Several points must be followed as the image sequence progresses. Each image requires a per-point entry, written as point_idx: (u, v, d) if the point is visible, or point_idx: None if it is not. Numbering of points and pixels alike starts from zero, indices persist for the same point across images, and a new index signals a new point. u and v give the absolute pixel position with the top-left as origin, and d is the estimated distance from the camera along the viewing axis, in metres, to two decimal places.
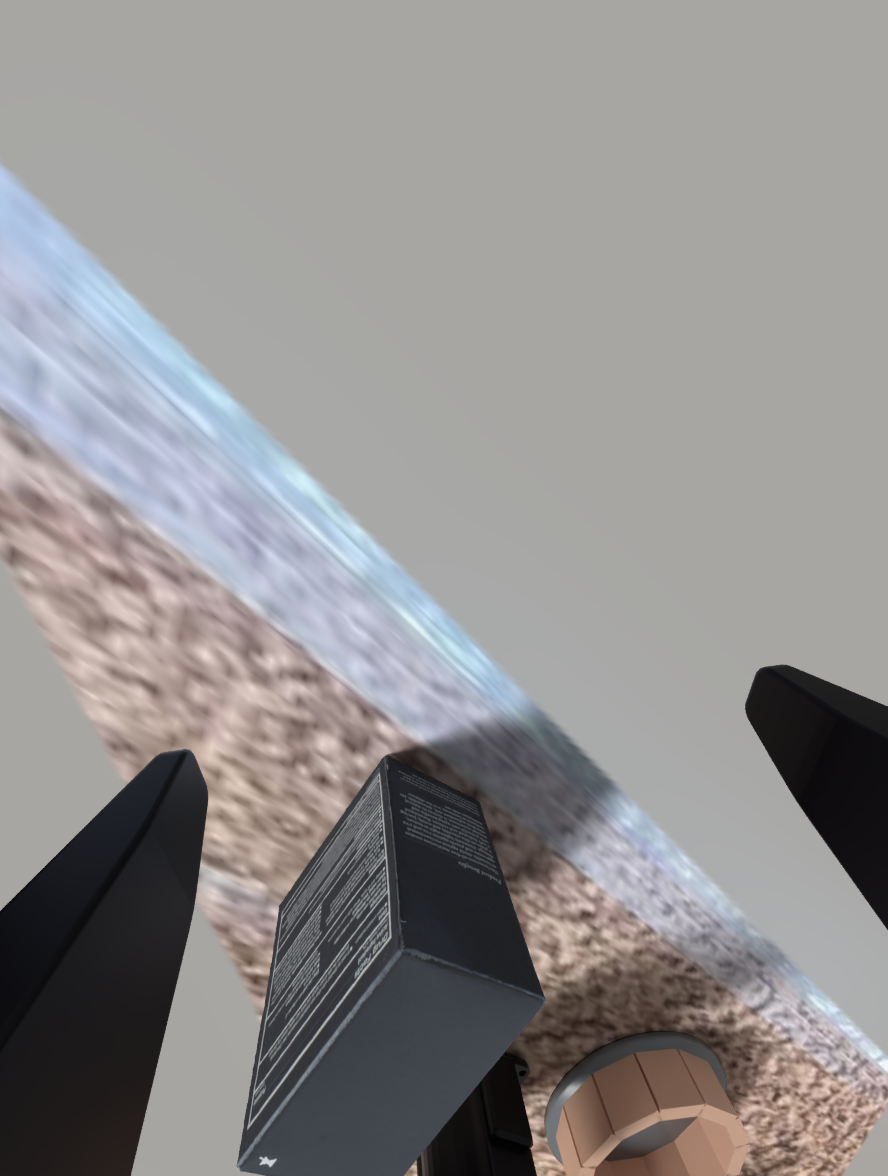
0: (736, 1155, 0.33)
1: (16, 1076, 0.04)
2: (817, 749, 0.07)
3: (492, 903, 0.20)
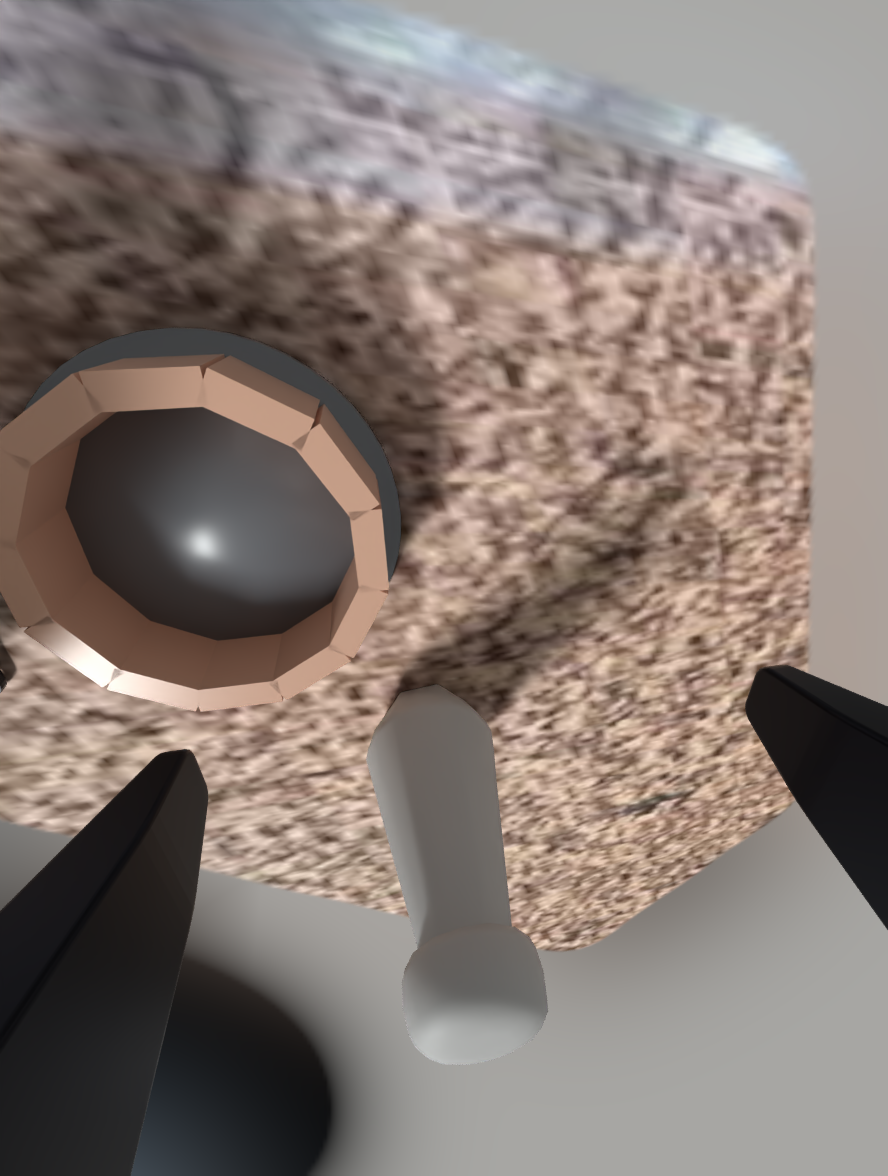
0: (317, 464, 0.15)
1: (16, 1075, 0.04)
2: (817, 749, 0.07)
3: None
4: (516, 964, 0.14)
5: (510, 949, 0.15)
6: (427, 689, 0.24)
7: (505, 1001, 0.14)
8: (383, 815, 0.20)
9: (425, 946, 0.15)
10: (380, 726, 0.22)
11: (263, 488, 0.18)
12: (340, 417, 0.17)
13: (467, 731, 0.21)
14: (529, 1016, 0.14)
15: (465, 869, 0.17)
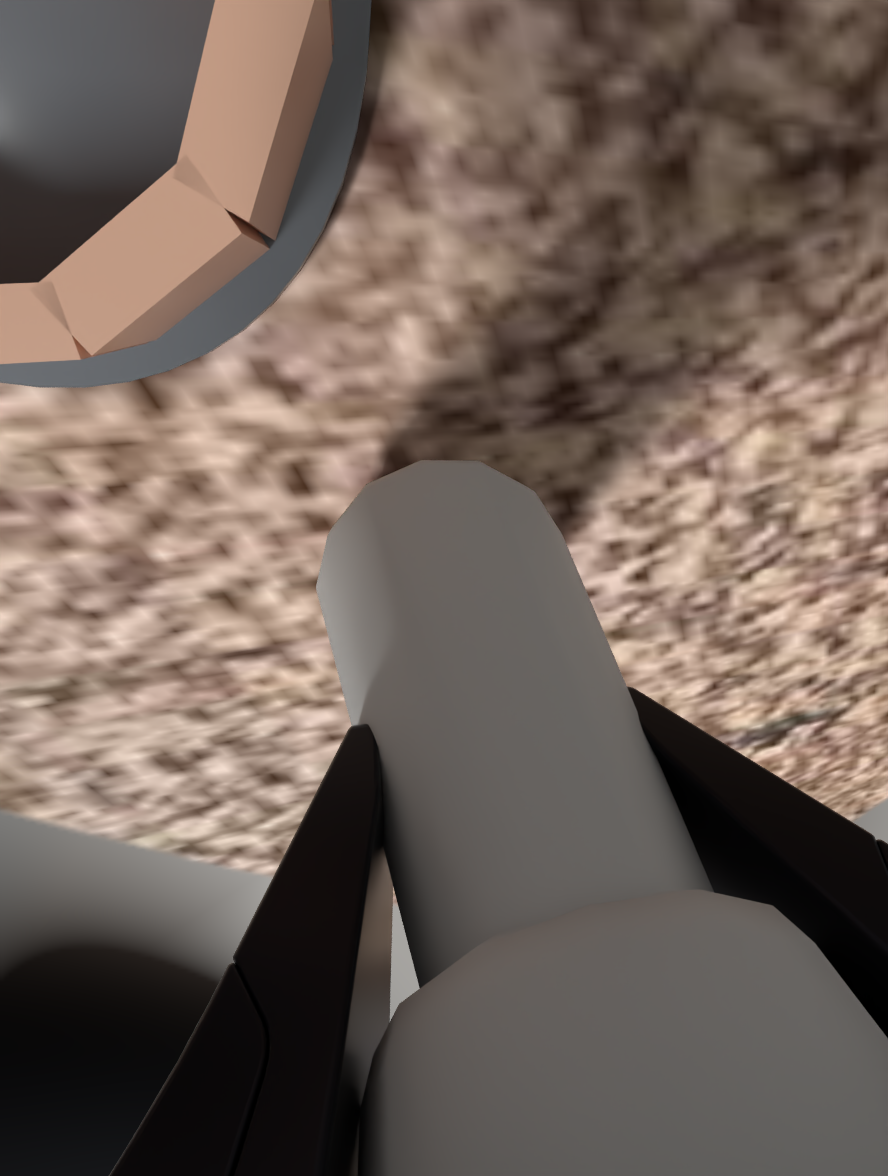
0: None
1: (358, 1005, 0.04)
2: None
3: None
4: (874, 1073, 0.03)
5: (820, 1001, 0.03)
6: None
7: None
8: (340, 665, 0.09)
9: (446, 982, 0.04)
10: (342, 515, 0.11)
11: None
12: None
13: (522, 503, 0.10)
14: None
15: (563, 737, 0.06)
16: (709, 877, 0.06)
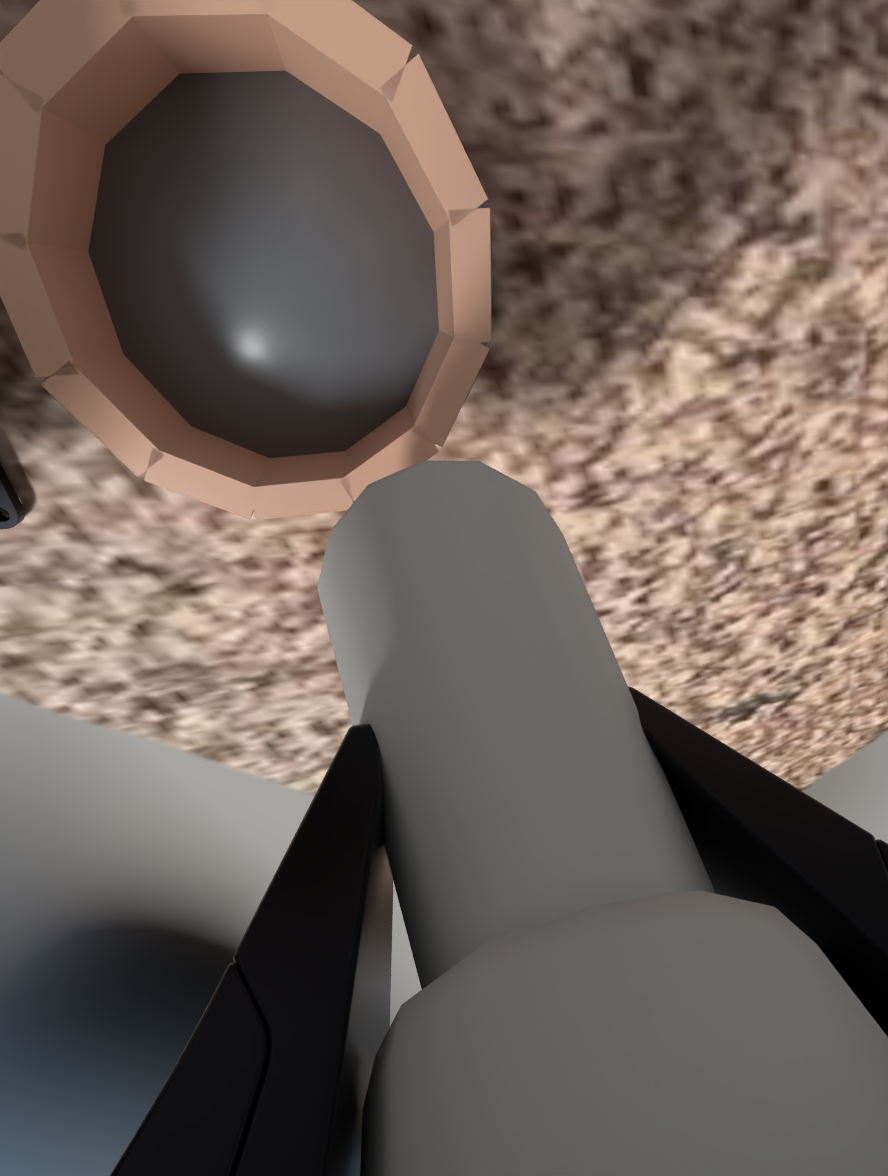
0: (412, 124, 0.11)
1: (359, 1005, 0.04)
2: None
3: None
4: (876, 1074, 0.03)
5: (821, 1000, 0.03)
6: None
7: None
8: (341, 665, 0.09)
9: (448, 983, 0.04)
10: (343, 515, 0.11)
11: (328, 232, 0.14)
12: None
13: (523, 504, 0.10)
14: None
15: (563, 738, 0.06)
16: (709, 877, 0.06)
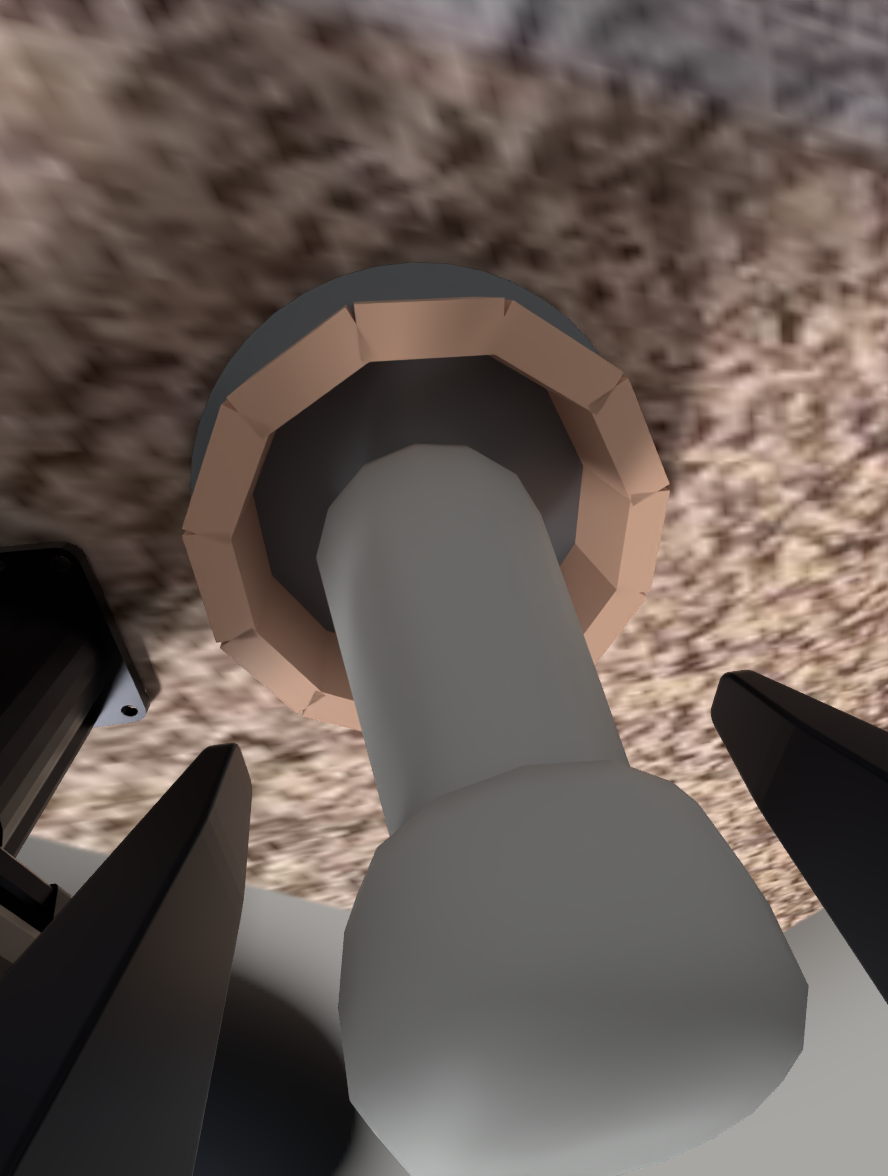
0: (612, 431, 0.12)
1: (104, 1057, 0.04)
2: (777, 756, 0.07)
3: None
4: (718, 870, 0.04)
5: (688, 828, 0.05)
6: None
7: (712, 991, 0.04)
8: (336, 620, 0.10)
9: (412, 823, 0.05)
10: None
11: None
12: None
13: (503, 483, 0.11)
14: (779, 1049, 0.04)
15: (519, 664, 0.07)
16: (861, 848, 0.06)
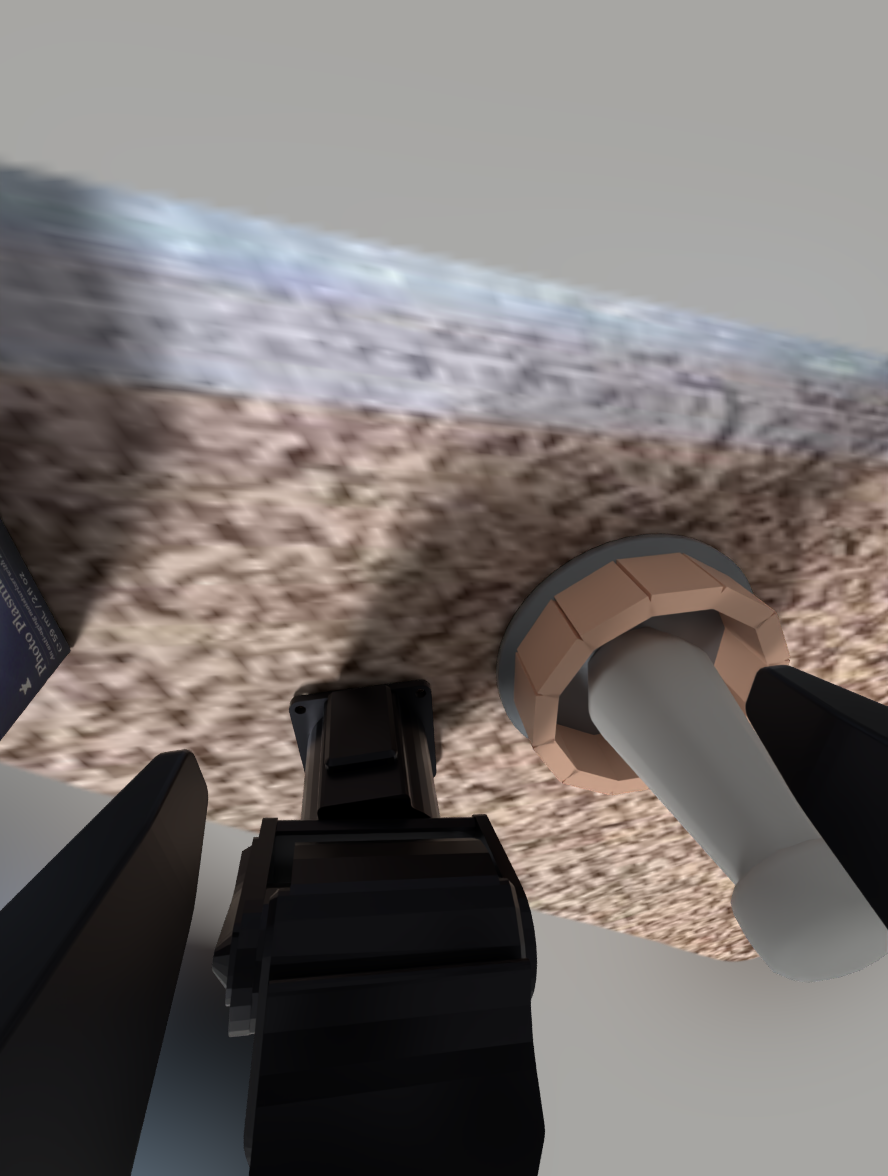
0: (764, 636, 0.21)
1: (16, 1076, 0.04)
2: (817, 749, 0.07)
3: None
4: None
5: None
6: (641, 630, 0.24)
7: None
8: (637, 748, 0.20)
9: (771, 859, 0.15)
10: (609, 663, 0.22)
11: (668, 633, 0.24)
12: None
13: (708, 666, 0.21)
14: None
15: (774, 790, 0.16)
16: None
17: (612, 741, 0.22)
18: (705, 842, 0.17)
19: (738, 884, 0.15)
